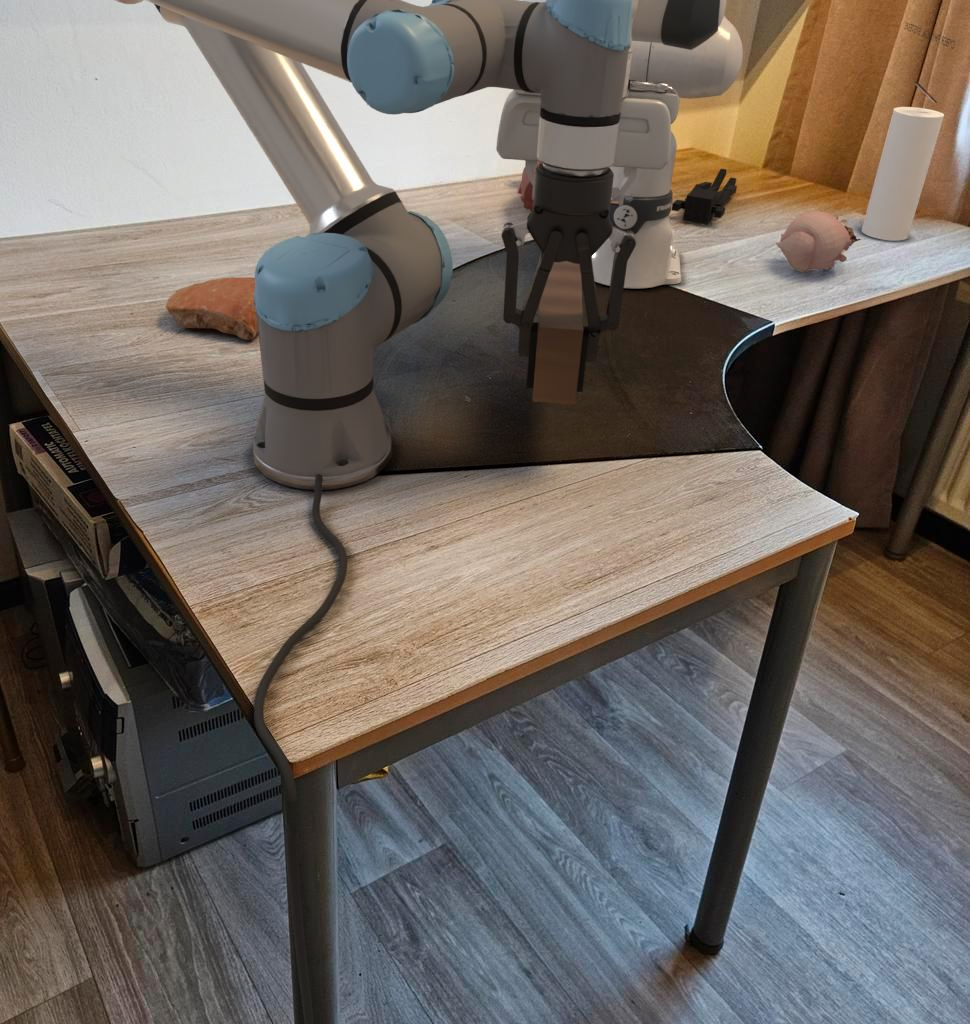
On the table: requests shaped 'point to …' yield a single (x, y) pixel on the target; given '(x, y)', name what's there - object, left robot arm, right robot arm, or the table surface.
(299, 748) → the table surface
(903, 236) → the tall white tube
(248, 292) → the ceramic shard
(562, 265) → the bar
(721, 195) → the toy
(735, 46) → the right robot arm
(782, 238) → the toy
